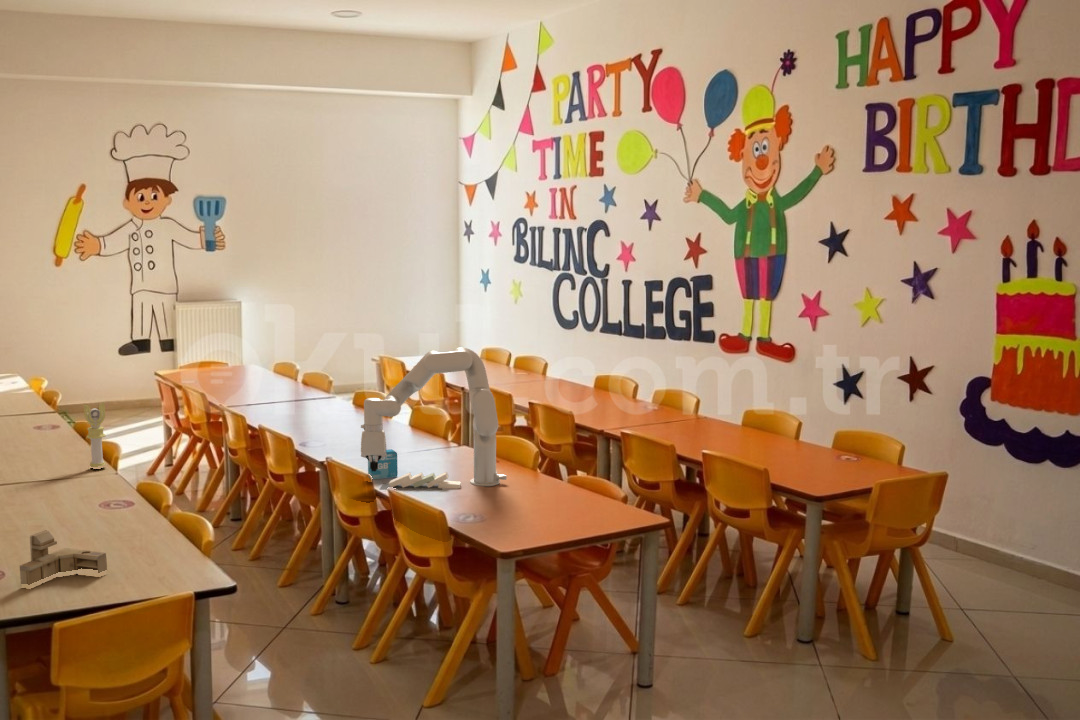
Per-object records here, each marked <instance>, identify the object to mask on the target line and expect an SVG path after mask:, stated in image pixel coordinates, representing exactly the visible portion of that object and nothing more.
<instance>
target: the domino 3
mask: <svg viewBox="0 0 1080 720" xmlns="http://www.w3.org/2000/svg"><path fill="white" fill-rule="evenodd" d="M436 477H437V476H436V474H435V473H434V472H432V473H430V474H427V475H426V476H424V478H423V480H420V481H418V482H416V483H413V485H414V488H416V487H418V486H421V485H423V484H426V483H428V482H431V481H433V480H435V478H436Z"/></svg>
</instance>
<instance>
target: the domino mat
mask: <svg viewBox="0 0 1080 720" xmlns="http://www.w3.org/2000/svg"><path fill="white" fill-rule="evenodd" d="M389 483H390V482H388V483H385V482H384V483H382V484H381V485H380V488H379V490H381V491H382V490H385V491H386V490H387V488H388V487H390V485H389ZM393 488H396V489H398V490H400V491H405V490H407V491H408V490H409V491H415V490H416V491H420V490H422V491H426V490H427V491H428V490H429V491H441V490H443V488H438V484H436V485H434V486H432V487H430V488H428V486H427V484H423V485H421V486H418V487H416V488H414V485H413V484H411V485H409V486H406V487H404V488H403V487H402V485H401V484H399V485H396V486H394V487H393Z"/></svg>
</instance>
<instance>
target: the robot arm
mask: <svg viewBox="0 0 1080 720" xmlns="http://www.w3.org/2000/svg"><path fill="white" fill-rule="evenodd" d="M463 371H464V372H465V376H466V380H467V381H466V382H467V385H468V392H469V401H470V403H471V407H472V412H473V418H472V430H473V431H472V433H473V478H471V479H470V480H469V483H470V484H471V485H473V486H478V487H494V486H498V485H499V484H500V482H501V481H507V479H508V477H507V474H499V473H498V471H497V432H498V428H499V419H498V413H497V408H496V401H495V397H494V394H493V393H492V391H491V389H490V384H489V379H488V375H487V370H486V368H485V364H484V362H483V360H482V358H481V357H480V356H479V354H477V353H476V352H475V351H474V350H473V349H469V348H467V347H464V346H462V347H461V346H459V347H456V348H454V349H453V350H452V351H445V352H439V350H438V351H437V350H430V351H428V352H426V353H425V354H424V355H423V357H421V359H420V360H419V361H418V362H417V363H415V365H414V366H413V367H412V368H411V369H410V371H409V372H408V373H406V375H404V376H403V378H402V379H401V380H400V381H399V382H398V383H397V384H396V385H395V386H394V387H393V388H392V389H391V390H390V392H389V393H387V395H386V396H385V397H384V399H381V398H379V397H368V398H366V399H364V401H363V416H364V417H363V421H364V422H363V423H364V424H361V425H360V428H361V429H363V430H362V432H361V437H360V438H361V439H360V440H361V441H360V454H361V455H360V457H362V458H365V459H367V461H368V460H369V462H370V469H372V472H373V471H374V472H376V470H377V469H378V461H379V460H380V459H381V458H384V457H386V456H387V454H386V450H387V439H386V434H385V433H386V432H385V430H384V429H383V428H384V427H383V424H384V423H383V417H391V418H393V417H396V416H398V415H399V414H400V412H401V410H402V406H403V404H404V403H405V402H407V400H408V399H409V398H410V397H411V396H412V395H413V394H415V393H416V392H418V391H420V390H422V389H423V388H424V387H425V386H426V385H427V383H429V381H430V380H431V379H432V378H433V377H434V376H435V375H436V374H444V373H445V374H447V373H454V372H463ZM373 455H376V456H375V460H373ZM500 480H501V481H500Z"/></svg>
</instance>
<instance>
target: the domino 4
mask: <svg viewBox="0 0 1080 720" xmlns="http://www.w3.org/2000/svg"><path fill="white" fill-rule="evenodd" d="M448 478H449V474H448V472H447V471H445V472H444V473H440V474H439V475H437V476H436V478H435V480H433V481H431V482H428V483H426V484H427V486H428V488H430V487H432V486H434V485H436V484H438V483H440V482H442V481H447V480H448Z"/></svg>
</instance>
